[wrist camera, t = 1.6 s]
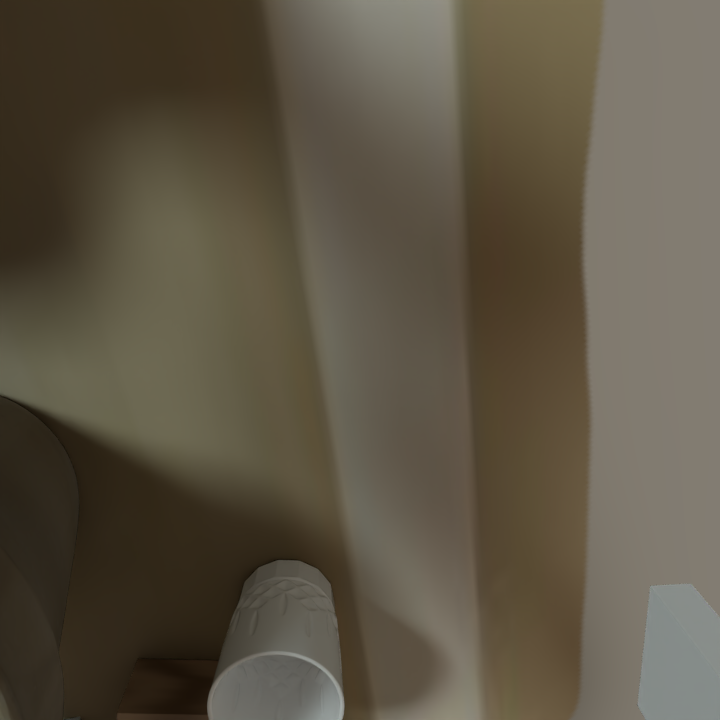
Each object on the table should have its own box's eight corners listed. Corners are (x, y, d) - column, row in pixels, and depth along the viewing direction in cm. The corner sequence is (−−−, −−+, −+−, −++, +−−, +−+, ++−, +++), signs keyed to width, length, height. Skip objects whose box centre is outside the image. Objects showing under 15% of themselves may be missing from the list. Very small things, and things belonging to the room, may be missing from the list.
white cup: (293, 662, 49) (284, 783, 39) (209, 603, 47) (178, 715, 38) (364, 593, 47) (372, 702, 38) (280, 530, 46) (267, 627, 36)
